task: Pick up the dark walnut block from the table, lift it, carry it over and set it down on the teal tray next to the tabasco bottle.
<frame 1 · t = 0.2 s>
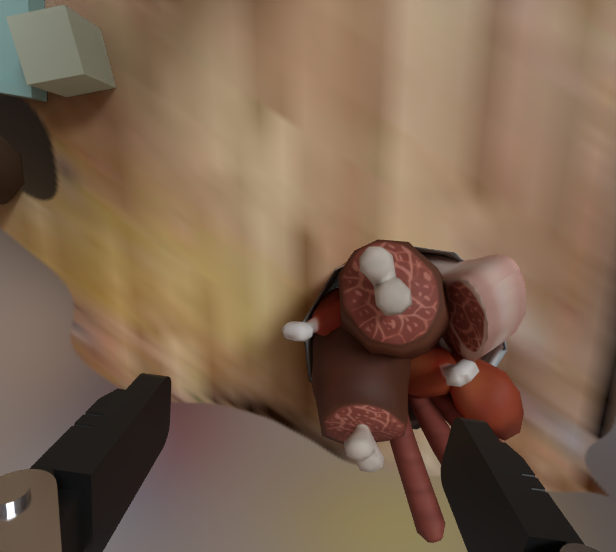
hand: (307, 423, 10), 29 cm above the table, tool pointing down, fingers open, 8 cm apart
bucket of meat: (383, 305, 40), on the table
sage block: (83, 64, 35), on the table
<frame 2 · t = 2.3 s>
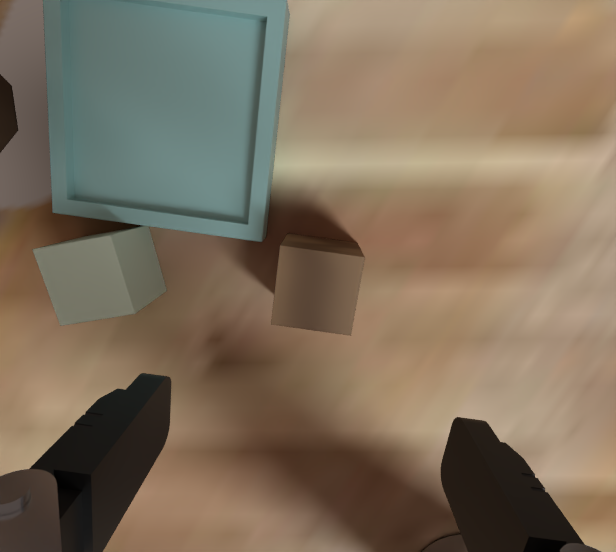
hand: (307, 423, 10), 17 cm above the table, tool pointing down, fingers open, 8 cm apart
teal tray: (172, 119, 25), on the table
walnut block: (317, 271, 27), on the table
sage block: (126, 263, 28), on the table
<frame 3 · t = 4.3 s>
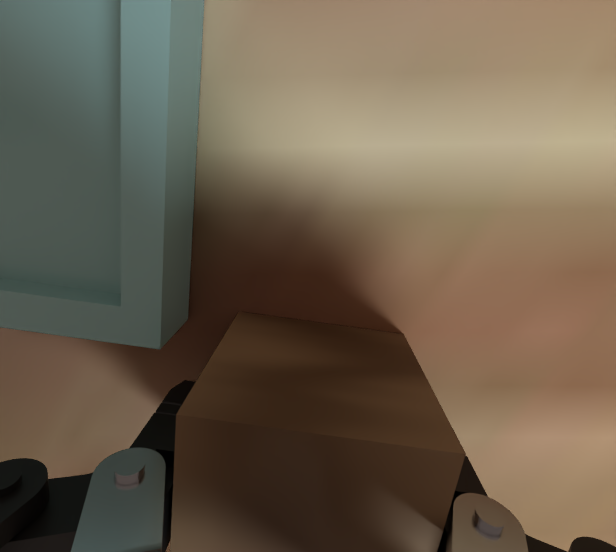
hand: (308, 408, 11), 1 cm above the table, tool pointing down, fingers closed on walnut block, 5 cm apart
walnut block: (310, 395, 12), on the table, touching gripper
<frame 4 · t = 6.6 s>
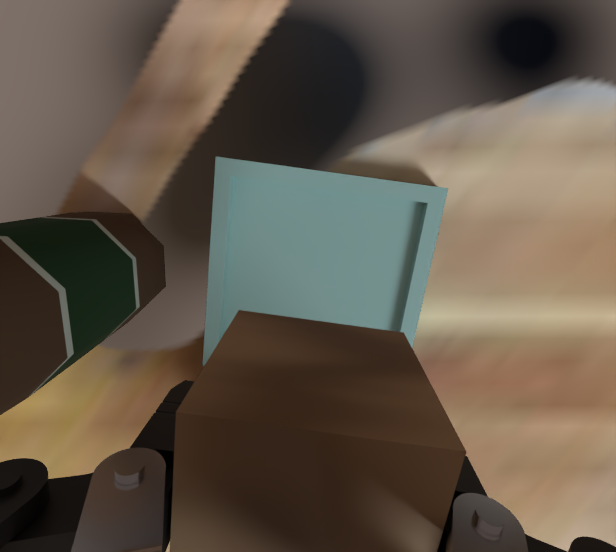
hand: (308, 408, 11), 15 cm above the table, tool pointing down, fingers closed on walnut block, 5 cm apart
teal tray: (316, 275, 26), on the table
beer bottle: (119, 261, 26), on the table
walnut block: (310, 393, 12), point 15 cm above the table, touching gripper
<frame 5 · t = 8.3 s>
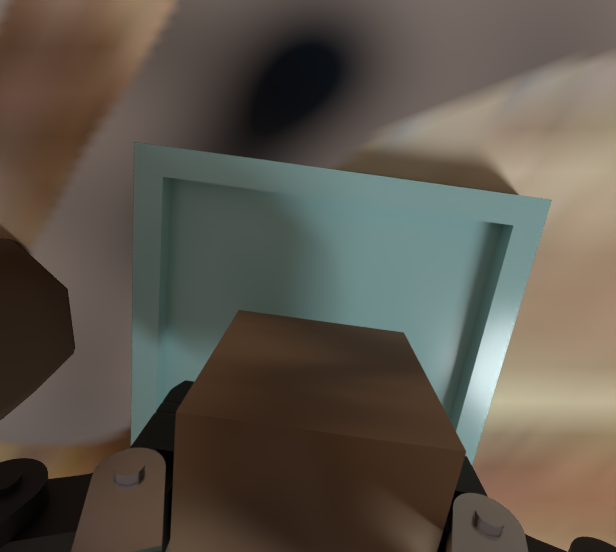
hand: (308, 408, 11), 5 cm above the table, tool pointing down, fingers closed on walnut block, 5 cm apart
teal tray: (314, 338, 16), on the table
beer bottle: (1, 312, 17), on the table
walnut block: (310, 393, 12), point 4 cm above the table, touching gripper
when the fingers open (3 cm above the table, at t = 9.2 s): walnut block drops 1 cm, resting on teal tray.
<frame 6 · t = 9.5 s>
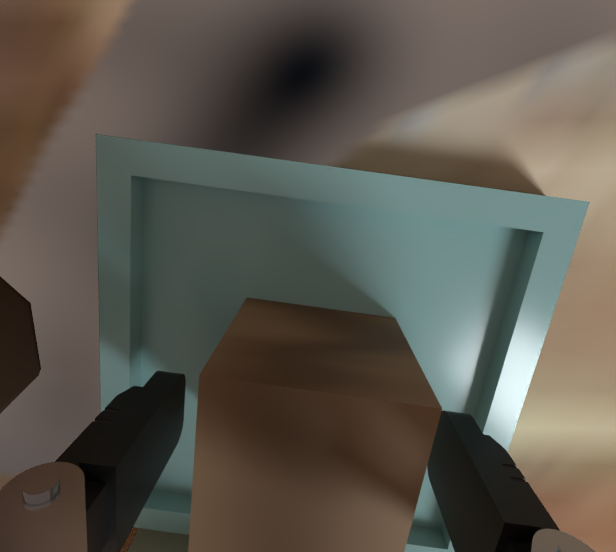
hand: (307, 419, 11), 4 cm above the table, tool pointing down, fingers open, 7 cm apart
teal tray: (311, 357, 14), on the table
walnut block: (310, 374, 13), point 1 cm above the table, touching teal tray
sage block: (213, 551, 17), on the table
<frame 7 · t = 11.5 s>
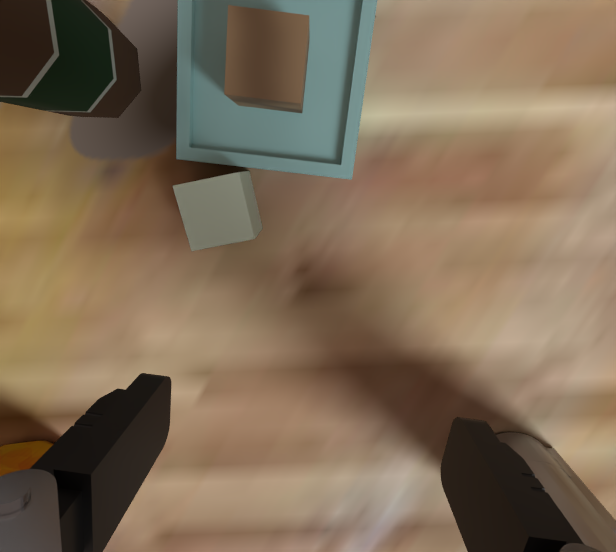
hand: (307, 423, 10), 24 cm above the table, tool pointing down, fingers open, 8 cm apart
teal tray: (274, 77, 29), on the table
bucket of meat: (45, 479, 42), on the table
beer bottle: (98, 70, 30), on the table
walnut block: (273, 74, 28), point 1 cm above the table, touching teal tray
sage block: (228, 205, 33), on the table
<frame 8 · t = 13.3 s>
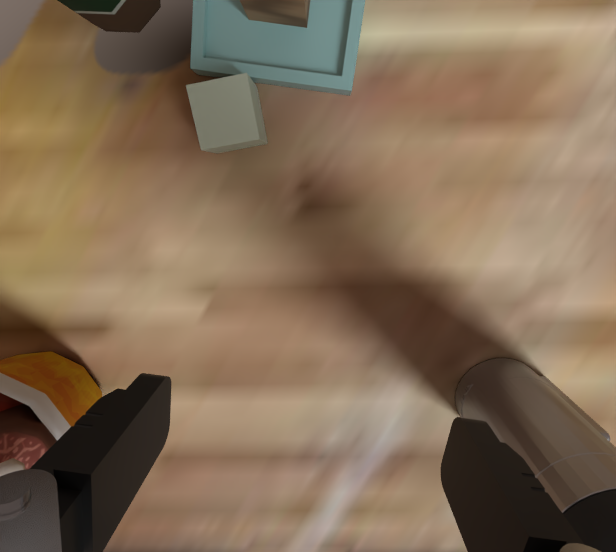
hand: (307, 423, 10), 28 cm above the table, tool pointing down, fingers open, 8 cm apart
bucket of meat: (55, 395, 44), on the table
sage block: (236, 121, 35), on the table
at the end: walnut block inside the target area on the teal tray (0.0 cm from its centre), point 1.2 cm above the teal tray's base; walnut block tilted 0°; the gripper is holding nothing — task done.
